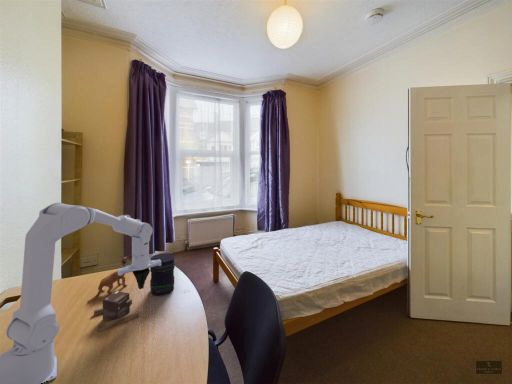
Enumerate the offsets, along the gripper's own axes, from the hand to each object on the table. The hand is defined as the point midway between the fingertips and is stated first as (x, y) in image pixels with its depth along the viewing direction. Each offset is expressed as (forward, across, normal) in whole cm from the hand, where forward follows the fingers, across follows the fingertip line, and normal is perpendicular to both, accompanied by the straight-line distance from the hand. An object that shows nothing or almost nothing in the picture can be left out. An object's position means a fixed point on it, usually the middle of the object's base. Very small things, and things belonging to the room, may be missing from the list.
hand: (140, 287), depth 83 cm
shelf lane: (+8, +8, 0) cm, 11 cm away
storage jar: (+8, -11, -7) cm, 15 cm away
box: (+8, +8, 0) cm, 11 cm away
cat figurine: (+8, +8, -19) cm, 22 cm away
